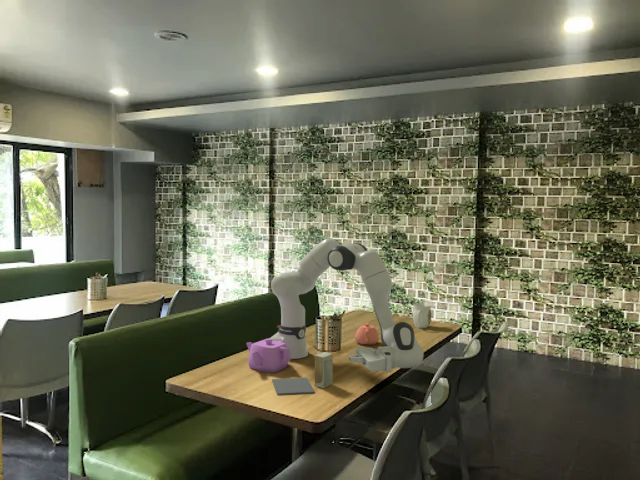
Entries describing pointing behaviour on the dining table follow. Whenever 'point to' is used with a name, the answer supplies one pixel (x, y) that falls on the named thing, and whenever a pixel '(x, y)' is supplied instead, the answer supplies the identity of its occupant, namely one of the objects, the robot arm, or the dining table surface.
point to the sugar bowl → (367, 334)
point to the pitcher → (421, 314)
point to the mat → (292, 386)
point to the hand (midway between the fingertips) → (349, 358)
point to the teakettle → (268, 355)
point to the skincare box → (323, 369)
